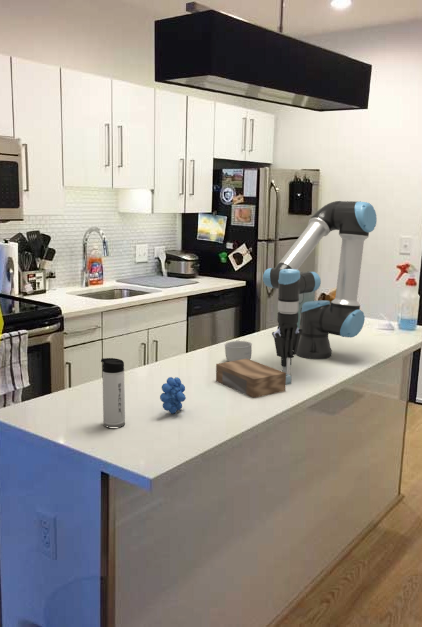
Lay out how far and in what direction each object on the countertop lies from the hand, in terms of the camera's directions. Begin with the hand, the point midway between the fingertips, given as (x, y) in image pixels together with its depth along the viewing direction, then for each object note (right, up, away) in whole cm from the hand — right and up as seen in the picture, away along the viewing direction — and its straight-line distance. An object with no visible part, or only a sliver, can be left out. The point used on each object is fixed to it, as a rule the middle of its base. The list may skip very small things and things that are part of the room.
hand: (285, 374), depth 230 cm
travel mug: (-56, -10, -47) cm, 74 cm away
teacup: (-17, +3, +22) cm, 28 cm away
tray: (-11, -3, -7) cm, 13 cm away
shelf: (-14, -3, -9) cm, 17 cm away
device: (+13, +11, +64) cm, 66 cm away
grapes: (-39, -9, -38) cm, 55 cm away
